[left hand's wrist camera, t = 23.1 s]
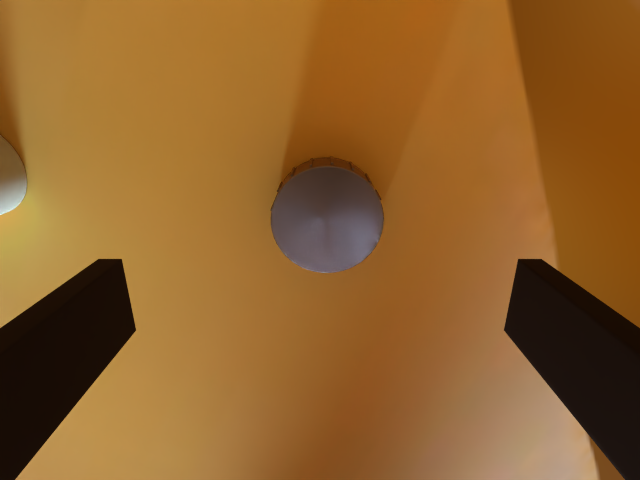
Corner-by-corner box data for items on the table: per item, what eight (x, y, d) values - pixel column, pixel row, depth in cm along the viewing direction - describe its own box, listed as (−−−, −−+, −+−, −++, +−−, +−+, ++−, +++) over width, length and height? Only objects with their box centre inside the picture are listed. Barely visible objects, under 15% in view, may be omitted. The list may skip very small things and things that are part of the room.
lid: (311, 272, 21) (309, 292, 19) (254, 192, 19) (245, 204, 17) (396, 224, 20) (405, 239, 18) (344, 134, 18) (346, 140, 16)
